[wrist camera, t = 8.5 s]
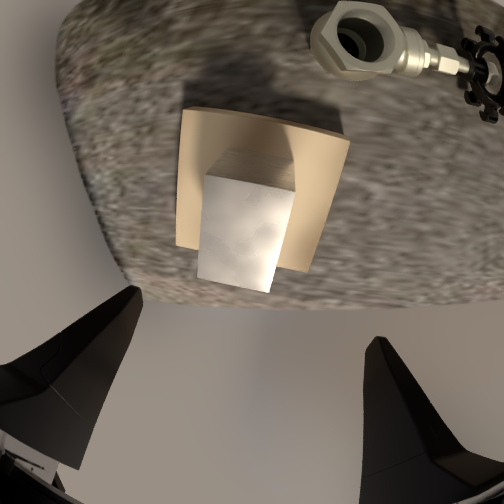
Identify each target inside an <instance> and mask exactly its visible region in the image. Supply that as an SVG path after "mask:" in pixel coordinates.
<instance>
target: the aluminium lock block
mask: <svg viewBox="0 0 504 504" xmlns="http://www.w3.org/2000/svg"><path fill="white" fill-rule="evenodd" d="M295 193H296V188H295V169H294V160H291V159H286V158H282V157H277V156H272V155H267V154H262V153H257V152H252V151H246V150H240V149H235V148H229V147H228V148H227V149H226V150H225V151H224V152H223V153H222V155H221V156H220V157H219V158H218V159H217V161H216V162H215V163H214V164H213V165H212V166H211V168H210V169H209V170H208V171H207V173H206V174H205V177H204V188H203V199H202V211H201V224H200V239H199V256H198V275H197V278H202V279H206V280H211V281H215V282H220V283H225V284H229V285H234V286H239V287H244V288H248V289H253V290H258V291H263V292H268V293H269V289H270V286H271V282H272V279H273V275H274V271H275V268H276V264H277V261H278V257H279V253H280V250H281V246H282V242H283V239H284V235H285V231H286V227H287V224H288V220H289V216H290V212H291V209H292V205H293V201H294V197H295Z"/></svg>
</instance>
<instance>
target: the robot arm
mask: <svg viewBox="0 0 504 504" xmlns="http://www.w3.org/2000/svg"><path fill="white" fill-rule="evenodd" d="M142 307H143V299H142V292H141V289H140V288H139V287H136V286H133V285H130V286H128V287H126V288H125V289H124V290H122V291H120V292H119V293H117V294H116V295H114V296H113V297H111V298H110V299H108V300H107V301H105V302H104V303H102V304H100V305H99V306H97V307H96V308H94V309H93V310H92V311H90V312H89V313H87V314H86V315H84V316H83V317H81V318H80V319H78V320H77V321H76V322H74V323H72V324H71V325H69V326H68V327H67V328H65V329H64V330H62V331H61V332H60V333H58V334H56V335H55V336H54V337H52V338H51V339H49V340H48V341H46V342H45V343H43V344H41V345H40V346H38V347H36V348H35V349H33V350H31V351H30V352H28V353H26V354H24V355H22V356H21V357H19V358H17V359H15V360H14V361H12V362H10V363H7V364H4V365H0V504H83V503H81V502H79V501H78V500H76V499H74V498H72V497H70V496H69V495H67V494H65V489H64V487H63V485H62V482H61V480H60V478H59V476H58V474H57V471H56V470H57V467H58V464H59V462H60V463H62V464H65V465H67V466H69V467H72V468H74V469H76V470H79V469H80V466H81V463H82V460H83V457H84V454H85V451H86V448H87V446H88V443H89V440H90V437H91V435H92V432H93V428H94V426H95V424H96V421H97V419H98V416H99V414H100V411H101V409H102V406H103V403H104V401H105V399H106V396H107V394H108V391H109V389H110V387H111V385H112V382H113V380H114V378H115V375H116V373H117V371H118V369H119V366H120V364H121V362H122V360H123V357H124V355H125V353H126V351H127V349H128V347H129V344H130V342H131V339H132V336H133V333H134V330H135V327H136V325H137V322H138V319H139V316H140V313H141V310H142ZM363 403H364V404H363V407H364V427H363V428H364V429H363V460H362V476H361V477H362V478H361V487H360V488H361V489H360V498H359V504H504V462H499V461H496V460H492V459H489V458H486V457H483V456H481V455H478V454H475V453H472V452H470V451H468V450H466V449H465V448H464V447H463V446H462V445H461V444H460V443H459V442H458V440H457V439H456V437H455V436H454V435H453V434H452V432H451V431H450V429H449V428H448V427H447V425H446V424H445V423H444V421H443V420H442V419H441V417H440V416H439V414H438V413H437V411H436V410H435V408H434V407H433V405H432V404H431V403H430V400H429V399H428V398H427V396H426V394H425V393H424V391H423V390H422V388H421V387H420V385H419V384H418V382H417V381H416V379H415V378H414V377H413V375H412V374H411V372H410V371H409V369H408V368H407V366H406V365H405V363H404V362H403V361H402V359H401V358H400V356H399V355H398V353H397V352H396V351H395V349H394V348H393V346H392V345H391V344H390V342H389V341H388V339H387V338H386V337H381V336H376V337H375V338H374V339H373V340H372V342H371V343H370V344H369V346H368V347H367V349H366V352H365V366H364V381H363Z"/></svg>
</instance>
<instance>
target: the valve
mask: <svg viewBox="0 0 504 504" xmlns="http://www.w3.org/2000/svg"><path fill="white" fill-rule="evenodd" d="M337 33H342V34H345V35H348V36H349V37H351V38H352V39H353V40H354V41H355V42H356V44H357V46H358V48H359V57H358V59H356V58H355V57H353V56H352V55H350V54H349V53H348V52H347V51H346V50H345V49H344V48H343V47H342V45H341V43H340V42H339V39H338V36H337ZM475 34H477V35H479V36H481V41H480V42H478V43H477V42H476V41H474V40H471V39H468V38H463V39H462V42H461V45H462V48H463V50H465V51H463V52H461V53H460V54H459V56H458V55H457V53H456V51H455V49H454V48H451V47H447V46H444V45H440V44H437V43H435V44H429V46H428V45H427V43H426V41H425V40H422V38H421V36H420V35H419V33H418V32H417V31H416V30H415V29H412V28H407V27H402V26H398V24H397V23H396V21H395V20H394V19H393V17H392V16H391V15H390V14H389V12H388V11H387V10H386V9H385V8H384V7H383V6H381V5H377V4H372V3H365V2H355V1H339V2H338V3H337V5H336V6H335V8H334V9H333V11H330V12H328V13H326V14H324V15H323V16H321V17H320V18H319V19H318V20H317V21H316V23H315V24H314V26H313V28H312V30H311V34H310V46H311V48H310V51H311V52H312V54H313V55H314V57H315V58H316V60H317V61H318V63H319V64H320V65H321V66H322V67H323V69H324V70H325V71H326V73H327V74H333V75H334V76H337V77H339V78H342V79H346V80H352V81H360V80H366V79H370V78H372V77H374V76H376V75H378V74H391V72H392V71H393V69H394V70H395V72H396V73H397V74H400V75H406V76H412V77H416V76H418V75H419V74H420V73H421V72H422V69H423V68H428V66H430V69H431V70H433V71H438V72H442V73H446V74H452V75H456V73H457V71H458V73H459V75H460V76H461V77H462V79H464V80H465V81H468V82H470V84H471V88H472V91H470V92H469V91H465V93H464V98H465V101H466V103H467V104H469V105H473V106H477V107H479V106H481V104H482V103H483V104H484V106H485V109H484V112H483V111H479V113H480V117H481V119H482V120H483V121H485V122H489V123H493V124H495V123H496V122H497V121H498V112H497V109H498V108H500V107H501V109H500V110H499V113H500V114H501V115H503V116H504V38H503V37H501V36H497V37H496V38H495V35H494V33H493V32H492V31H491V30H489V29H487V28H485V27H483V26H480V25H479V26H477V27H476V29H475ZM495 40H496V41H497V42H498V43H499V45H498V46H496V45H495V44H494V42H495ZM467 51H468V52H467ZM486 52H491V53H494V54H495V56H496V57H497V58H498V60H499V62H500V65H501V69H502V85H501V88H500V91H499V92H498V94H497V95H494V94H492V93H490V92H488V91H487V89H486V88H485V86H486V85H489V86H493V87H495V86H496V85H497V83H498V80H499V73H498V70H497V68H496V66H495V64H494V63H491V62H489V61H487V60H486V59H485V58H483V57H482V56H483V54H485V53H486Z"/></svg>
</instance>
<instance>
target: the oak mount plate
mask: <svg viewBox="0 0 504 504" xmlns="http://www.w3.org/2000/svg"><path fill="white" fill-rule="evenodd" d="M349 144H350V140H349V139H348V138H347V137H346V136H345V135H343V134H339V133H336V132H332V131H329V130H325V129H321V128H317V127H313V126H309V125H305V124H301V123H296V122H292V121H287V120H283V119H278V118H273V117H268V116H262V115H256V114H251V113H244V112H238V111H231V110H224V109H216V108H207V107H197V106H192V107H189V108H186V109H183V115H182V126H181V137H180V150H179V165H178V183H177V210H176V245H177V246H182V247H186V248H191V249H196V250H199V239H200V224H201V211H202V199H203V188H204V177H205V174H206V173H207V171H208V170H209V169H210V168H211V166H212V165H213V164H214V163H215V162H216V161H217V159H218V158H219V157H220V156H221V155H222V153H223V152H224V151H225V150H226V149H227V148H228V147H229V148H235V149H240V150H246V151H252V152H257V153H262V154H267V155H272V156H277V157H282V158H286V159H291V160H294V169H295V188H296V193H295V197H294V201H293V205H292V209H291V212H290V216H289V220H288V224H287V227H286V231H285V235H284V239H283V242H282V246H281V250H280V253H279V257H278V261H277V264H276V266H278V267H283V268H287V269H292V270H297V271H302V272H308V270H309V267H310V264H311V261H312V259H313V256H314V253H315V250H316V247H317V245H318V242H319V239H320V236H321V233H322V230H323V227H324V224H325V221H326V218H327V215H328V212H329V209H330V206H331V203H332V200H333V197H334V194H335V191H336V188H337V184H338V181H339V178H340V175H341V171H342V168H343V165H344V161H345V158H346V155H347V151H348V148H349Z"/></svg>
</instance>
